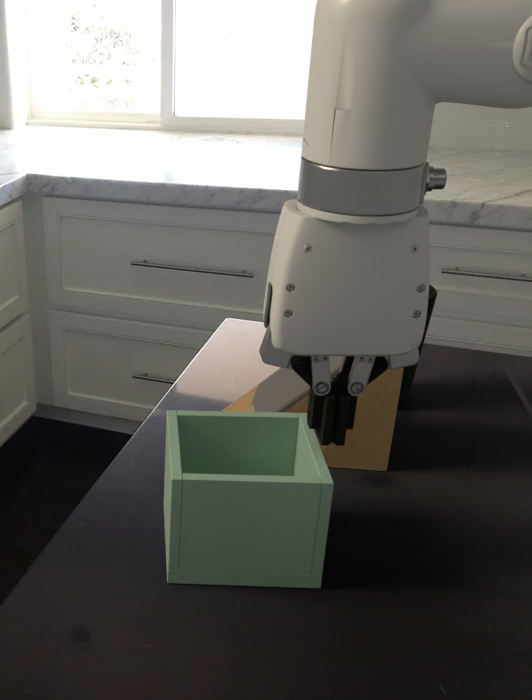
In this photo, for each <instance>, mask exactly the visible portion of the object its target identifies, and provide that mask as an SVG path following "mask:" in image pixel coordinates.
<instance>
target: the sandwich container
mask: <svg viewBox="0 0 532 700" xmlns="http://www.w3.org/2000/svg"><path fill="white" fill-rule="evenodd" d="M329 359H330V379H331V381H333V377H336V375H338V374H339V370H340V366H341V363H342V359H343V356H329ZM403 370H404V367H402V368H397V369H392V370H391V369H387V370H386V371H385V372H384V373H382V374H381V375H380V376H378V377H377V378H376V379H375V380H373V381H372V382H371V383H369V384H368V385H367V386H366V390H365V392H364V393H363V394H362V395H360V396H358V398H357V405H356V413H355V420H354V427H353V429H347V430H346V438H345V444H344V446H336V444H333V442H332V443H331V444H329V446H325V445H320V442H319V440H318V442H319V445H320V447H321V450H322V453H323V455H324V458H325V461H326V463H327V466H328V468H336V469H350V470H365V471H379V472H387V471H388V467H389V461H390V455H391V449H392V444H393V443H392V442H393V436H394V430H395V425H396V424H395V423H396V418H397V411H398V409H397V406H398V400H399V394H400V388H401V382H402V376H403ZM309 392H310V386H309V385H308V384H307V383H306V382H305V381H304V380H303V379H302V378H301V377H300V376H299V375H298V374H297V373H296V372H295V371H294V370H293V369H289V368H287V369H285V368H281V367H279V368H278V369H276V371H274V372H273V373H271V374H270V375H268V377H266V378H265V379H263V380H262V381H261V382H259V383H258V384H257V385H255V386H254V387H252V388H251V389H250V390H248V391H247V392H246V393H244V394H243V395H241V396H240V397H239V398H237V399H236V400H235V401H232V402H231V403H230V404H229V405H227V406H226V407H225V408H223V409H222V410H221V411H235V412H285V413H307V410H308V401H309ZM314 431H315V430H314ZM315 434H316V432H315ZM316 436H317V435H316ZM317 439H318V437H317Z"/></svg>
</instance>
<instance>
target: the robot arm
mask: <svg viewBox="0 0 532 700" xmlns="http://www.w3.org/2000/svg"><path fill="white" fill-rule="evenodd" d="M310 47H311V48H310V49H311V50H310V57H309V58H310V59H309V70H308V78H307V89H306V101H305V109H304V110H305V111H304V121H303V132H302V133H303V134H302V143H301V154H300V155H301V156H300V164H299V173H298V174H299V175H298V186H297V197H296V199H294V198H293V199H288V200H286V201H285V202H284V203H283V206H282V208H281V211H280V215H279V217H278V222H277V226H276V230H275V234H274V240H273V244H272V249H271V254H270V260H269V264H268V271H267V277H266V285H265V291H264V299H263V307H262V308H263V311H262V320H263V321H262V322H263V326H264V328H265V329H266V330H265V333H264V336H263V337H262V341H261V344H260V346H259V349H258V352H259V356H260V358H261V361H262V363H263V364H265V365H268V366H273V367H277V368H285V369H287V368H289V369H293V370H294V371H295V372H296V373H297V374H298V375H299V376H300V377H301V378H302V379H303V380H304V381H305V382H306V383H307V384H308V385H309V386H310V392H309V401H308V410H307V424H308V427H309V429H314V430H315V432H316V435H317V437H318V440H319V442H320V445H325V446H329V444H331V443H332V442H333V444H336V446H344V444H345V438H346V430H347V429H353V427H354V420H355V413H356V405H357V398H358V396H360V395H362V394H363V393H364V392H365V390H366V386H367V385H368V384H369V383H371V382H372V381H373V380H375V379H376V378H377V377H378V376H380V375H381V374H382V373H384V372H385V371H386V370H387V369H391V370H392V369H397V368H402V367H407V366H412V365H415V364H416V363H418V364H419V362H420V358H419V350H418V347H419V345H420V343H421V341H422V338H423V334H424V329H425V323H426V316H427V307H428V296H429V284H430V281H431V231H430V230H431V229H430V218H429V217H430V216H429V211H428V209H427V208H426V206H424V200H425V196H426V194H427V193H428V192H432V191H434V190H435V191H436V190H437V191H438V190H439V191H440V190H441V191H442V190H444V189H445V187H446V184H447V180H448V173H447V170H446V168H445V167H444V168H443V167H441V168H440V167H439V168H437V167H434V166H433V165H430V162H429V161H427V159H428V152H429V146H430V140H431V134H432V127H433V120H434V114H435V107H436V105H438V104H439V103H440V104H441V103H449V104H461V105H471V106H472V105H473V106H480V107H485V108H487V107H488V108H495V109H506V110H517V109H518V110H520V109H529V108H532V0H316V3H315V9H314V18H313V26H312V37H311V46H310ZM329 356H343V359H342V363H341V366H340V370H339V374H338V375H336V377H333V381H331V379H330V359H329ZM418 361H419V362H418Z"/></svg>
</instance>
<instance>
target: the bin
mask: <svg viewBox="0 0 532 700" xmlns="http://www.w3.org/2000/svg"><path fill="white" fill-rule="evenodd" d="M165 423H166V424H165V453H164V478H163V479H164V484H163V519H164V521H163V522H164V542H165V563H166V581H167V582H166V583H167V584H180V585H181V584H182V585H206V586H207V585H209V586H210V585H211V586H235V587H236V586H238V587H239V586H240V587H241V586H242V587H267V588H293V589H296V588H297V589H321V587H322V580H323V570H324V563H325V556H326V548H327V540H328V534H329V533H328V532H329V525H330V518H331V509H332V501H333V495H334V486H335V482H334V479H333V477H332V474H331V472H330V469H329V467H328V466H327V463H326V461H325V458H324V455H323V453H322V450H321V447H320V445H319V442H318V439H317V436H316V434H315V431H314V429H309V427H308V424H307V413H285V412H235V411H222V410H181V409H179V410H178V409H177V410H175V409H172V410H171V409H167V410H166V422H165Z"/></svg>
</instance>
